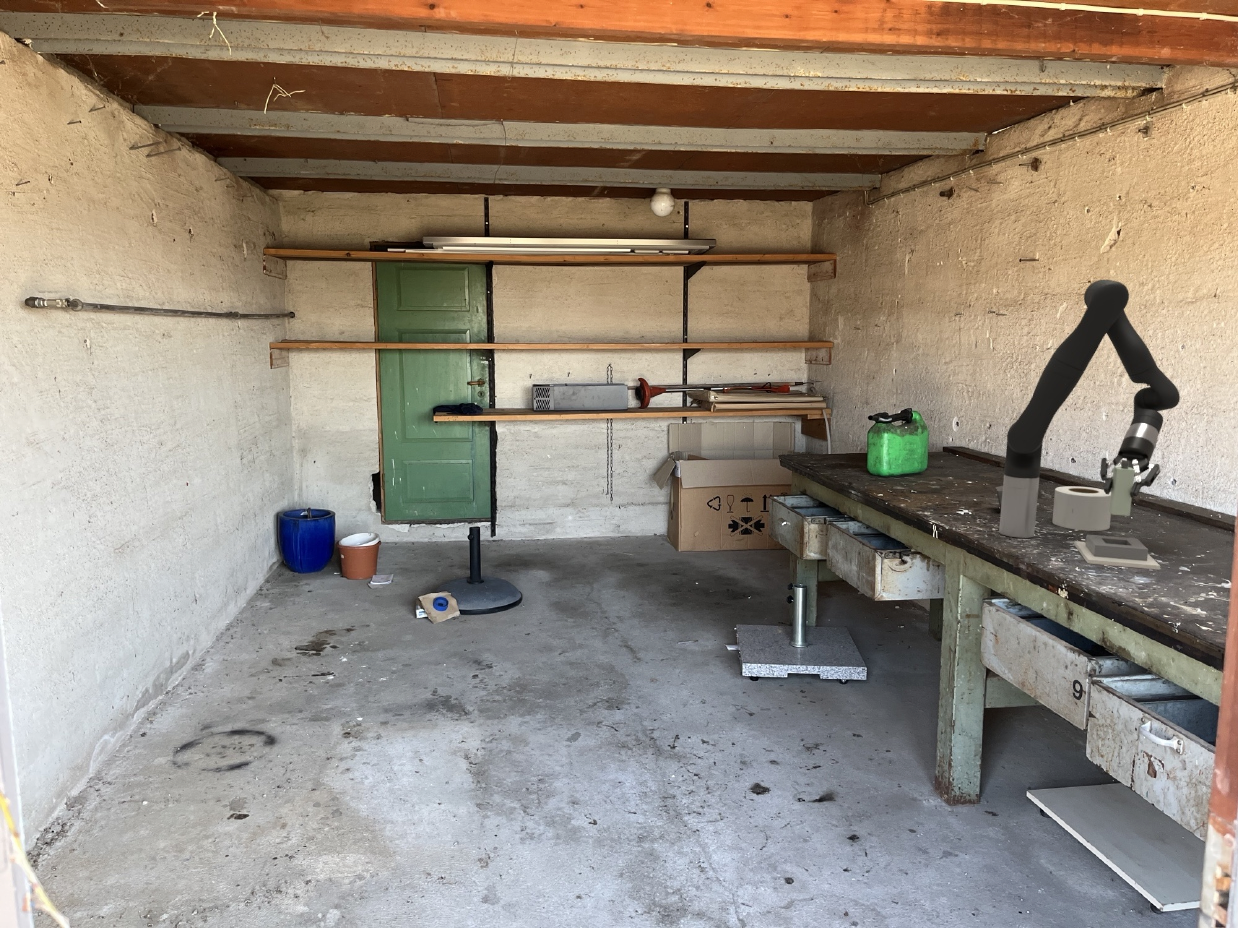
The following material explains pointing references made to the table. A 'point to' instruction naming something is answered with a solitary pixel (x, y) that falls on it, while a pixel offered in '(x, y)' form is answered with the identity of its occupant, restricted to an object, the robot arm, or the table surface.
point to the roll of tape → (1081, 508)
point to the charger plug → (1121, 489)
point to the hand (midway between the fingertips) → (1119, 494)
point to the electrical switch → (999, 494)
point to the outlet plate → (1114, 560)
